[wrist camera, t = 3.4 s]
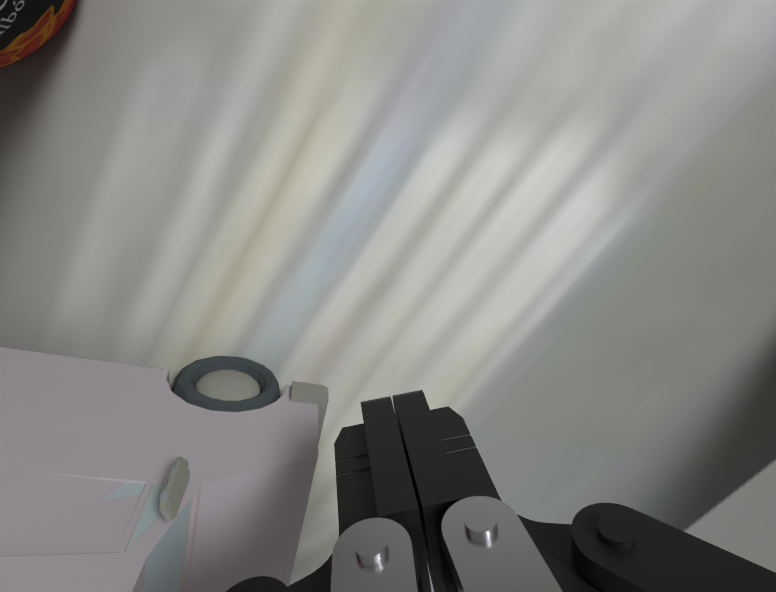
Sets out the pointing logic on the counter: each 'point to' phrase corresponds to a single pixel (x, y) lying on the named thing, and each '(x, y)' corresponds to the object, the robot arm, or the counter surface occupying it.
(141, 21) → the counter surface
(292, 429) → the toy vehicle
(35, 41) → the canned food
